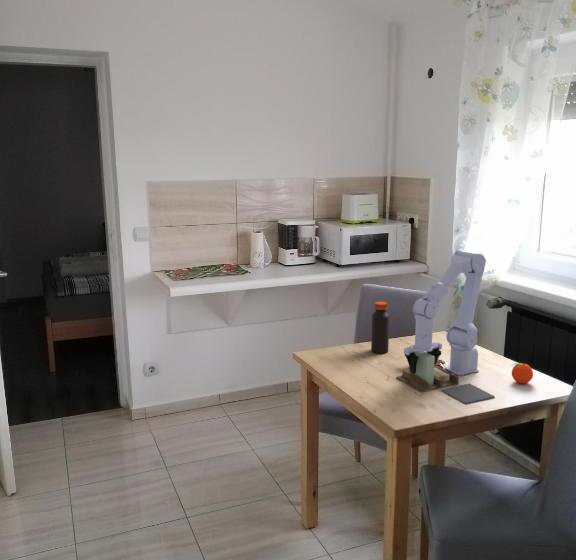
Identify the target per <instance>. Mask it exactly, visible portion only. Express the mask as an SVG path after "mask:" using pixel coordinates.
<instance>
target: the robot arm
mask: <svg viewBox="0 0 576 560" xmlns="http://www.w3.org/2000/svg"><path fill="white" fill-rule="evenodd" d="M486 263H487V259H486V257H485V255H484V254H483V253H482V252H474V251H471V250H470V251H469V250H463V249H461V248H459V249H457V250H456V251H455V252H454V253H453V255H452V256H451V259H450V265H449V266H448V268H447V269H446V270H445V272H444V274H443V275H442V276H441V278H440V280H439V281H438V282H437V281H436V282H433V283H432V284H431V286H429V288H428V290H427V291H426V292H425V293H424V295H423V296H422V297H420V298H418V299H417V300H415V302H414V303H413V305H412V309H411V310H412V312H413V314H414V319H415V329H414V330H415V331H414V332H415V333H414V336H415V337H414V344H413V345H410V346H407V347H404V348H403V354H404V357H405V358H406V360H407V363H408V367H409V372H410V373H413V374H416V366H417V361H418V358H419V357H418V356H416V354H415V353H418V352H426V353H428V354H430V355H432V356H435V362H434V367H435V365H436V363H437V362H438V360H439V358H440V356H441V355H442V348H443V344H442V343H441V342H433V327H434V317H436V315H437V313H438V310H439V306H440V303H442V300H443V299H444V298H445V297H446V296H447V294H448V293H449V290H448V288H449V287H450V285H451V284H452V283H453V282H454V281H455V280H456V279H457V278H458V277H459V276H460V274H462V273H463V275H464V276H465V281H464V286H463V290H462V294H461V299H460V304H459V308H458V314H457V318H456V320H454V321H452V322H451V323H450V326H449V327H448V330H447V332H446V334H445V335H446V336H445V337H446V341H447V342H448V344H449V346H450V353H449V354H450V358H449V366H445V367H444V370H446V371H448V372H450V373H452V374H454V375H456V376H462V375H467V374H471V373H476V372H479V371H480V370H479V369H478V363H479V362H478V361H479V352H478V349H477V348H476V345H477V343H478V330H479V329H478V328H477V327H476V326H475V324H474V323H473V321H474V315H475V312H476V307H477V303H478V299H479V298H478V297H479V294H480V289H481V284H482V279H483V275H484V272H485V267H486Z"/></svg>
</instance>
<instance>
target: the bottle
mask: <svg viewBox="0 0 576 560" xmlns="http://www.w3.org/2000/svg"><path fill="white" fill-rule="evenodd" d="M374 310H375V311H374V312H373V314H371V339H370V340H371V344H370V345H371V346H370V351H371V352H372V353H374V354H378V355H380V354H381V355H382V354H383V355H384V354H387V353H388V352H389V346H390V345H389V343H390V342H389V341H390V339H389V338H390V334H389V333H390V315H389V313H388V312H387V310H388V303H387V302H386V301H375V302H374Z"/></svg>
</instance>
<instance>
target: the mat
mask: <svg viewBox="0 0 576 560" xmlns="http://www.w3.org/2000/svg"><path fill="white" fill-rule="evenodd" d="M440 389H441V390H440V391H441V392H443V393H444V394H446V395H448V396H450V397H452V398H454V399H455V400H457V401H459V402H460V403H462V404H464V405H469V404H473V403H478V402H481V401H486V400H491V399H495V398H496V397H495V395H494V394H491V393H490V392H488V391H485V390H483V389H481V388H479V387H477V386H475V385H474V384H471V383H465V384H460V385H454V386H449V387H445V388H440Z"/></svg>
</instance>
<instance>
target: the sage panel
mask: <svg viewBox="0 0 576 560" xmlns="http://www.w3.org/2000/svg"><path fill="white" fill-rule="evenodd" d="M415 354H416V356H418V357H419V358H418V361H417V366H416V374H414V375H416V376H417V377H419V378H421V379H423V380H424V381H426V382H428V383H429V385H433V384H434V362H435V356H432V355H430V354H428V353H427V351H424V352H418V353H415ZM412 374H413V373H412Z"/></svg>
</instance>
